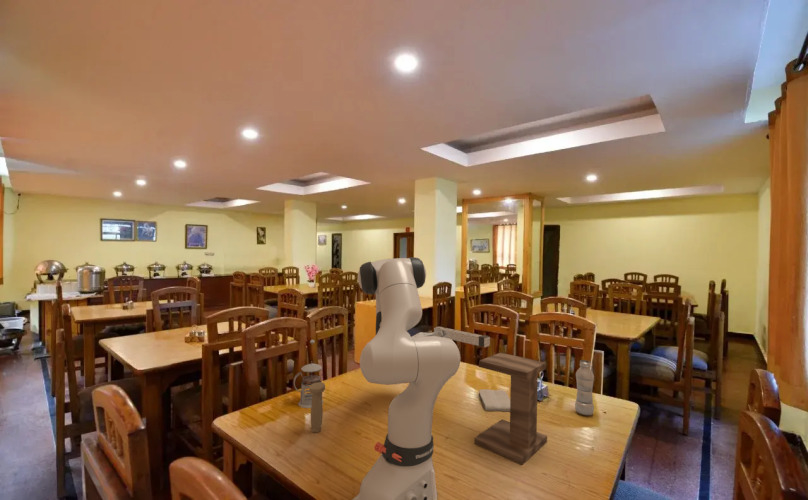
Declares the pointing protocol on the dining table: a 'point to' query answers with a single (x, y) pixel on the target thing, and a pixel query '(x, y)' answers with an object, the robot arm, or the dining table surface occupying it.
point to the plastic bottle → (584, 389)
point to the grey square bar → (464, 336)
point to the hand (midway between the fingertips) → (446, 331)
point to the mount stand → (515, 410)
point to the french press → (307, 398)
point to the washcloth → (494, 400)
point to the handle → (316, 406)
